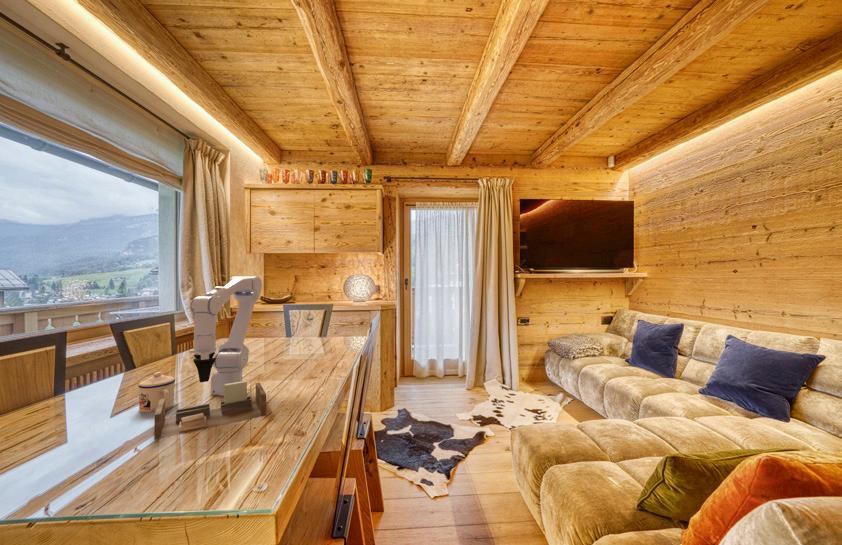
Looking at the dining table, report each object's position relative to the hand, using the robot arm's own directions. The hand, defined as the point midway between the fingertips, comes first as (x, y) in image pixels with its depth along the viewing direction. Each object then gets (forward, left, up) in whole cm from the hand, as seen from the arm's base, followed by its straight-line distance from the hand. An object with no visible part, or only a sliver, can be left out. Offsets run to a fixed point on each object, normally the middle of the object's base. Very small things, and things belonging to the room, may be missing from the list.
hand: (204, 378), depth 102 cm
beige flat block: (+10, +2, -9) cm, 14 cm away
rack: (+8, -5, -10) cm, 14 cm away
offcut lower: (+7, -11, -9) cm, 16 cm away
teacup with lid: (-15, -2, -11) cm, 19 cm away
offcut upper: (+7, -11, -8) cm, 15 cm away
